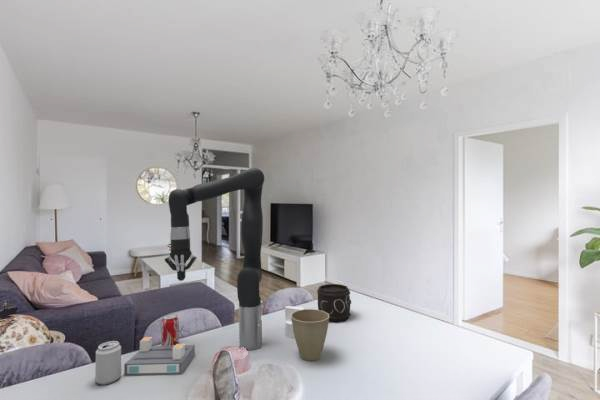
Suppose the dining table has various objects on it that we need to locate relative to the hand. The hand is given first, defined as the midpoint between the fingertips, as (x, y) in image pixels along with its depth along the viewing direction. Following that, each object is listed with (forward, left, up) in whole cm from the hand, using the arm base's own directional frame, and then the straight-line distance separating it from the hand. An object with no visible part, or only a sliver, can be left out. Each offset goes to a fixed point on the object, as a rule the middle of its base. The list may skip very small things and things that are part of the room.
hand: (181, 280), depth 125 cm
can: (+18, +19, -29) cm, 39 cm away
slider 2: (-4, +13, -25) cm, 29 cm away
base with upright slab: (-46, -16, -29) cm, 57 cm away
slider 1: (+11, +6, -25) cm, 28 cm away
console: (+4, +10, -29) cm, 31 cm away
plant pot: (-52, +6, -29) cm, 60 cm away
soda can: (+8, -8, -29) cm, 31 cm away
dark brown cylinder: (-67, -37, -29) cm, 82 cm away
